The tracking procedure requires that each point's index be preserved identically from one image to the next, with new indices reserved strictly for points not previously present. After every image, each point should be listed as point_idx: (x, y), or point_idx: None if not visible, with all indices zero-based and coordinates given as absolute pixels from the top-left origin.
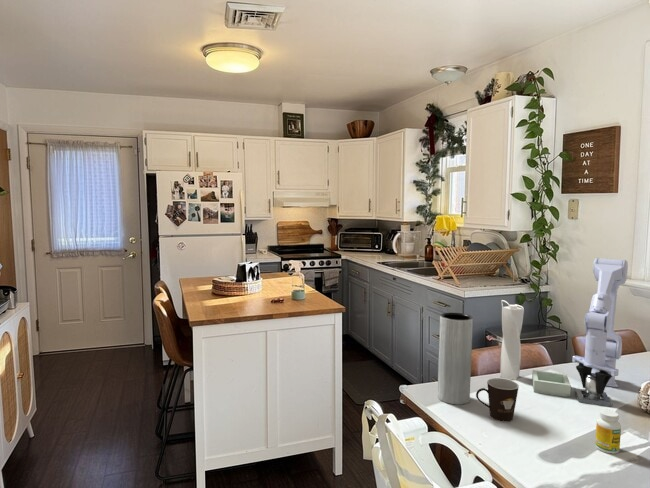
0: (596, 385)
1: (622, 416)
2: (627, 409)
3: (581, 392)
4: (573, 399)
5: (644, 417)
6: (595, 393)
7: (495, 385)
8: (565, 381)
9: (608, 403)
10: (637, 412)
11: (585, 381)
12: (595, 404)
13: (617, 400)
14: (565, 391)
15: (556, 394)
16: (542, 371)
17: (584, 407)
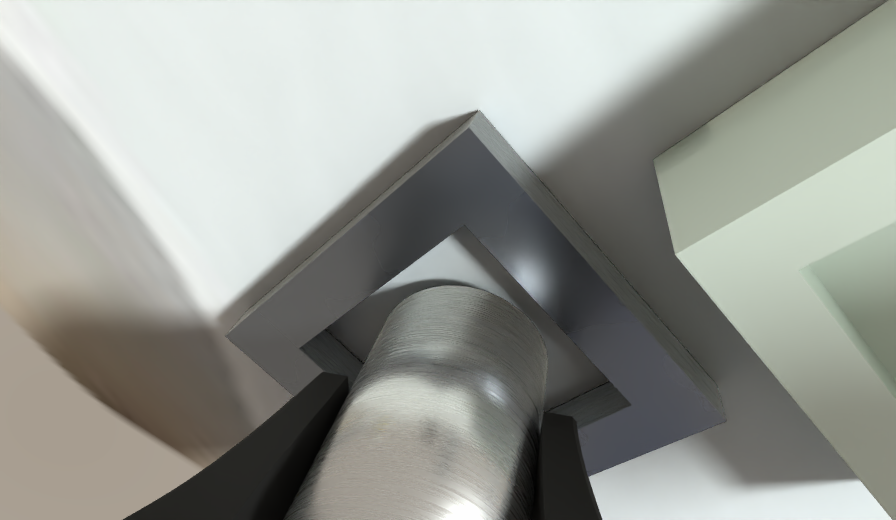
0: (313, 462)
1: (41, 181)
2: (173, 369)
3: (587, 356)
4: (580, 134)
5: (19, 325)
6: (366, 366)
7: None
8: (865, 362)
9: (247, 316)
10: (110, 374)
11: (537, 512)
12: (341, 229)
13: None
14: (735, 147)
15: (863, 23)
16: None
17: (323, 6)
